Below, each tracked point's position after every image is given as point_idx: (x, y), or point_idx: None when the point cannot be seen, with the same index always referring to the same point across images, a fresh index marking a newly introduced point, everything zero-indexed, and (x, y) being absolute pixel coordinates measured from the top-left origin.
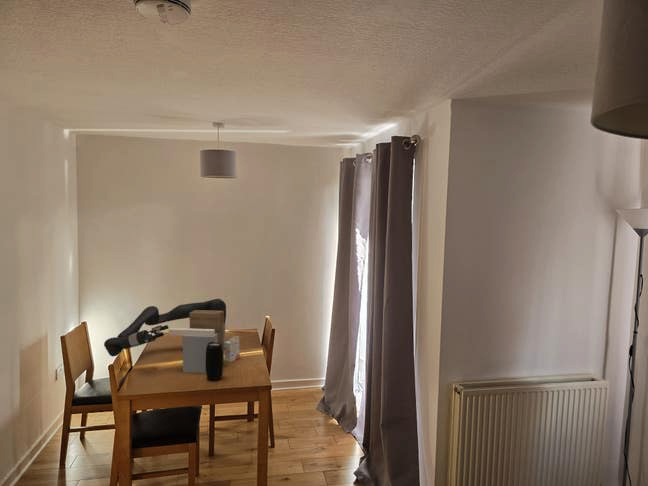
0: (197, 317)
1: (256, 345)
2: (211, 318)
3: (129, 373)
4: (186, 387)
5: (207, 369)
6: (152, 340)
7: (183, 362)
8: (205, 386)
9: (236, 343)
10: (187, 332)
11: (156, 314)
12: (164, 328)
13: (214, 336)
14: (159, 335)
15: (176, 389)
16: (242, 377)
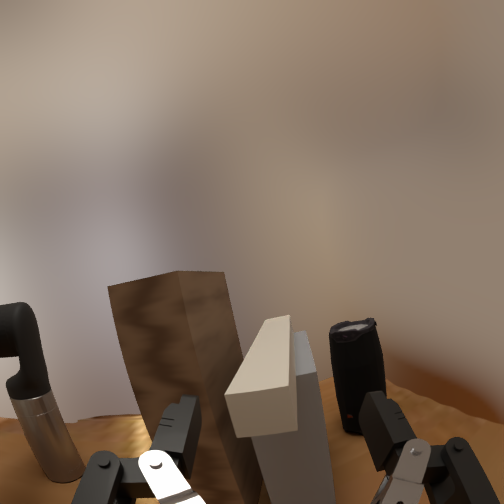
0: (200, 295)
1: (98, 423)
2: (220, 293)
3: None
4: (455, 423)
5: (385, 395)
6: (452, 481)
7: (333, 486)
8: (422, 407)
9: None
10: (292, 352)
11: None
12: (193, 444)
13: (296, 332)
14: (400, 422)
15: (481, 425)
16: (335, 397)
